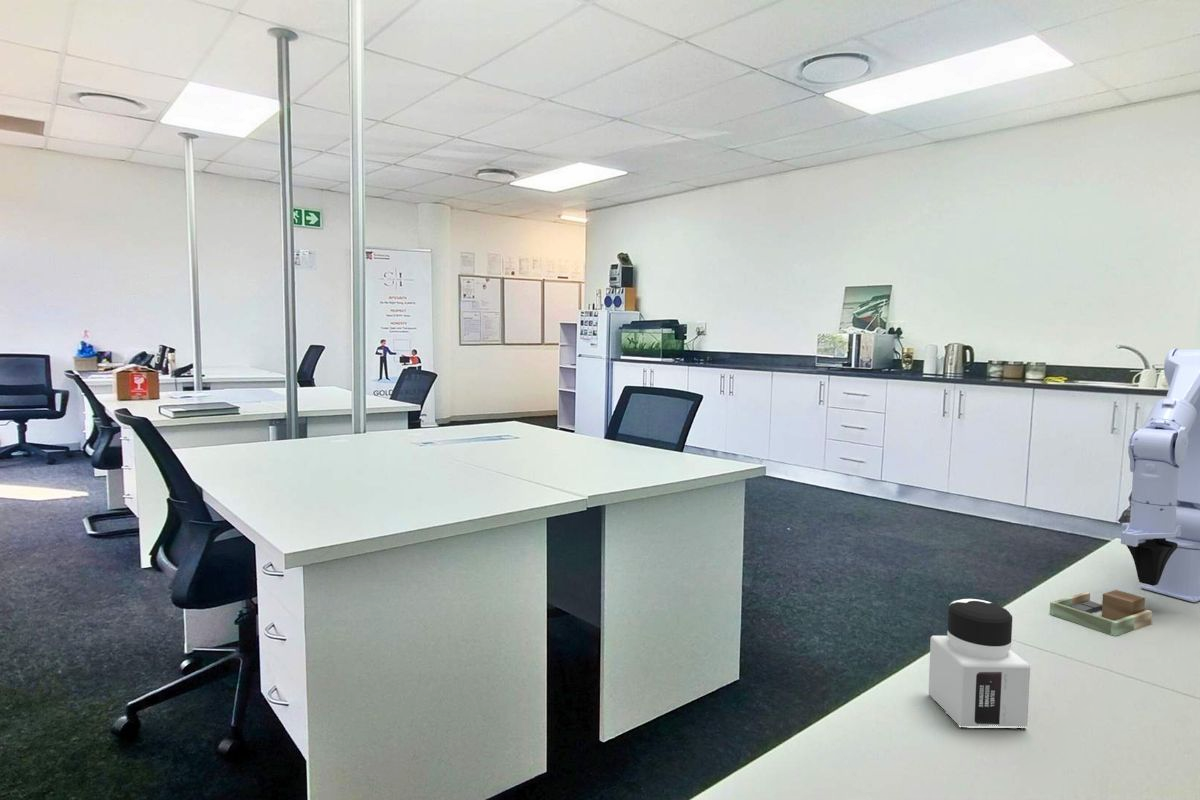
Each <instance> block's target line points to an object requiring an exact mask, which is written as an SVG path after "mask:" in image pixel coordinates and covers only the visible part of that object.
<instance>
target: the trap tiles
mask: <svg viewBox="0 0 1200 800" xmlns="http://www.w3.org/2000/svg"><path fill="white" fill-rule="evenodd" d="M1071 607H1072V608H1075V609H1078V610H1082V611H1085V612H1088V613H1091V614H1093V613H1096V612H1099V611H1102V603H1098V602H1094V601H1091V600H1090V601H1088V602H1084V603H1081V604H1077V605H1074V606H1071Z"/></svg>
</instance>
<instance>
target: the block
mask: <svg viewBox="0 0 1200 800" xmlns="http://www.w3.org/2000/svg"><path fill="white" fill-rule="evenodd" d="M1101 601H1102V602H1101V604H1102V610H1101V617H1104V618H1107V619H1110V620H1113V621H1116V620H1119V619H1122V618H1125V617H1128V616H1131V615H1134V614H1137V613H1140V612H1143V611H1145V608H1146V607H1145V606H1146V598H1145V597H1144V596H1140V595H1136V594H1132V593H1130V592H1126V591H1121V590H1118V589H1114V590H1111V591H1108V592H1103V593H1102V600H1101Z"/></svg>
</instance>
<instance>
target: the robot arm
mask: <svg viewBox="0 0 1200 800" xmlns="http://www.w3.org/2000/svg"><path fill="white" fill-rule="evenodd" d="M1163 369H1164V376H1165V378H1166V379H1165V380H1166V382H1167V386H1168V390H1167V393H1166V397H1165V398H1161V399H1159V400H1157V401H1156V402H1154V405H1153V407H1152V409H1151V410H1150V412H1149V414H1148V416H1147V418H1146V420H1145V422H1144V424H1143V426H1142V427H1140V428H1138V429H1137V430H1136V429H1135V430H1132V432H1131V434H1130V436H1129V440H1128V447H1127V449H1128V450H1127V451H1128V458H1129V469H1130V470H1129V471H1130V472H1131V473H1132V485H1131V497H1130V498H1131V501H1130V513H1129V516H1130V517H1129V522H1122V523H1121V528H1123V529H1124V531H1121V532H1120V544H1121V545H1125V546H1126V548H1127V549H1128V551H1129V552H1130V554H1131V558H1132V559H1133V561H1134V562H1133V563H1134V566H1135V571H1136V574H1137V579H1138V582H1139V583H1141V584H1140V586H1139V587H1140V588H1141V589H1144V590H1147V591H1150V592H1155V593H1157V594H1161V595H1165V596H1169V597H1171V598H1176V599H1181V600H1184V601H1188V602H1192V603H1196V602H1197V603H1198V602H1199V601H1200V348H1199V349H1197V348H1196V349H1193V348H1190V349H1184V348H1183V349H1180V348H1171V349H1170V351H1168V352H1167V354H1166V356H1165V359H1164V366H1163Z"/></svg>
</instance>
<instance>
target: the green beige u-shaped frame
mask: <svg viewBox="0 0 1200 800" xmlns="http://www.w3.org/2000/svg"><path fill="white" fill-rule="evenodd" d="M1088 601H1091V593H1090V592H1087V591H1085V592H1082V593H1079V594H1075V595H1070V596H1067V597H1064V598H1060V599H1056V600H1053V601H1050V602H1049V603H1050V604H1049V615H1051V616H1054V617H1057V618H1060V619H1062V620H1065V621H1068V622H1072V623H1075V624H1078V625H1080V626H1083V627H1086V628H1089V629H1092V630H1095V631H1097V632H1102V633H1104V634H1107V635H1110V636H1113V637H1117V636H1119V635H1123V634H1125V633H1129V632H1131V631H1134V630H1137V629H1140V628H1144V627H1146V626H1149V625H1152V623H1153V621H1152V620H1153V619H1152V618H1153V610H1149V609H1147V610H1144V611H1143V612H1140V613H1137V614H1134V615H1131V616H1128V617H1125V618H1122V619H1119V620H1116V621H1113V620H1110V619H1107V618H1104V617H1102V616H1100V615H1097V614H1093V613H1088V612H1085V611H1082V610H1078V609H1075V608H1072V607H1071V606H1074V605H1077V604H1081V603H1084V602H1088Z"/></svg>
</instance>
